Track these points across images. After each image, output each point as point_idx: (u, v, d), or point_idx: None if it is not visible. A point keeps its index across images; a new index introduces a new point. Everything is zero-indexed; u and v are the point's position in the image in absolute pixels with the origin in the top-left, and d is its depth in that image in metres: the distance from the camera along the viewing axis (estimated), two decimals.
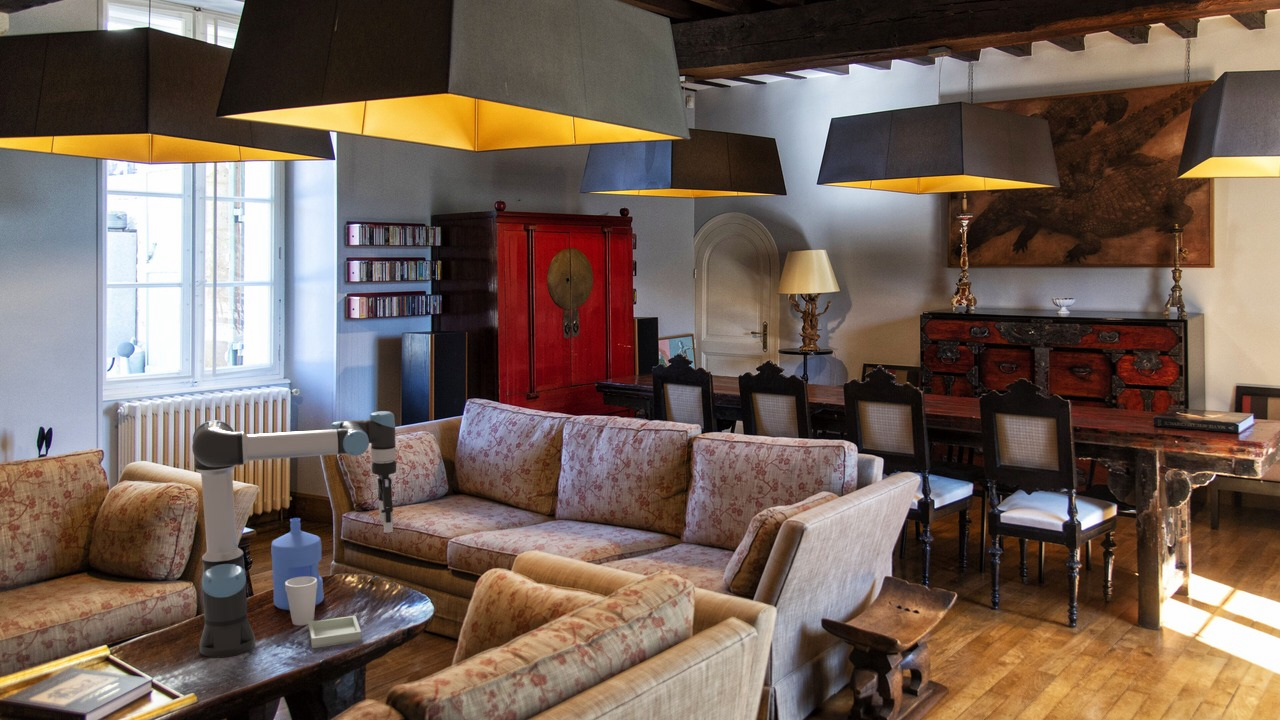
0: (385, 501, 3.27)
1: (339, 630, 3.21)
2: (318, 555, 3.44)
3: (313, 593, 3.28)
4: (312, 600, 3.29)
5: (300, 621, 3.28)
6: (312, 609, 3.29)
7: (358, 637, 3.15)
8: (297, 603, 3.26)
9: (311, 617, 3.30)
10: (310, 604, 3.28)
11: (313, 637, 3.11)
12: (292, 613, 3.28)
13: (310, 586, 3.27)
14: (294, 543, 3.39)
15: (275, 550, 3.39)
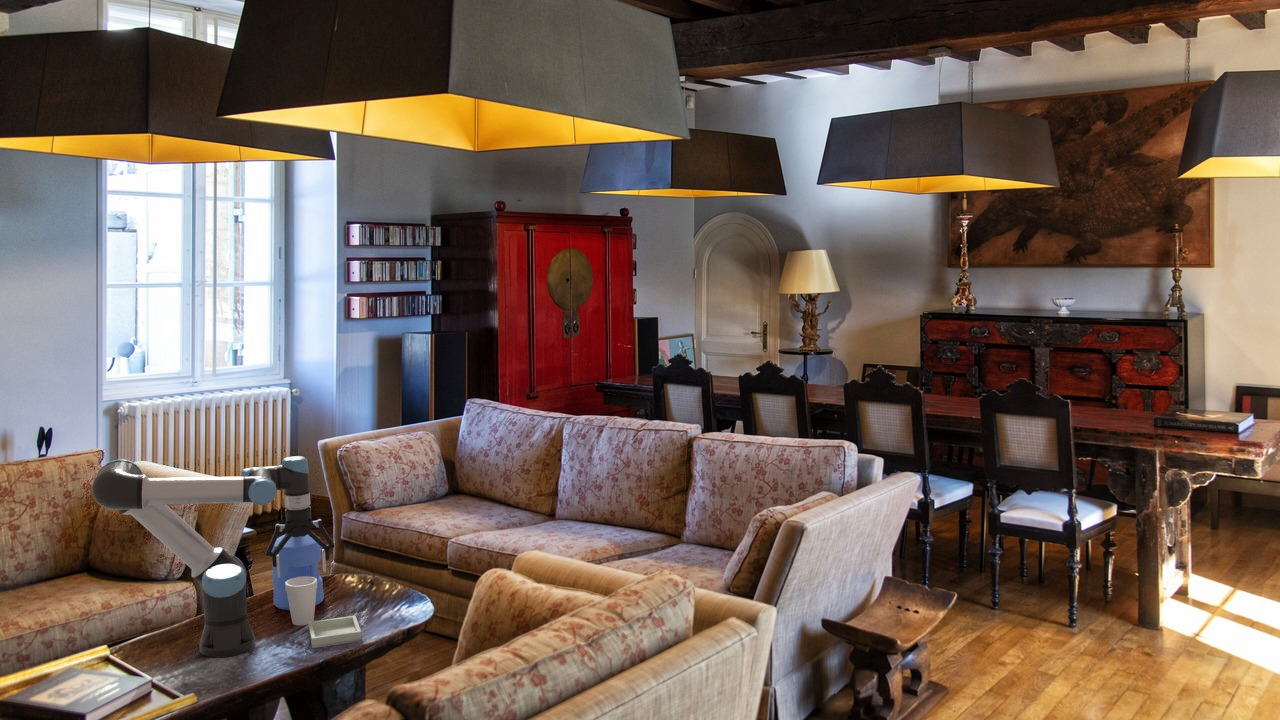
0: (269, 543, 3.25)
1: (339, 630, 3.21)
2: (318, 555, 3.44)
3: (313, 593, 3.28)
4: (312, 600, 3.29)
5: (300, 621, 3.28)
6: (312, 609, 3.29)
7: (358, 637, 3.15)
8: (297, 603, 3.26)
9: (311, 617, 3.30)
10: (310, 604, 3.28)
11: (313, 637, 3.11)
12: (292, 613, 3.28)
13: (310, 586, 3.27)
14: (294, 543, 3.39)
15: None
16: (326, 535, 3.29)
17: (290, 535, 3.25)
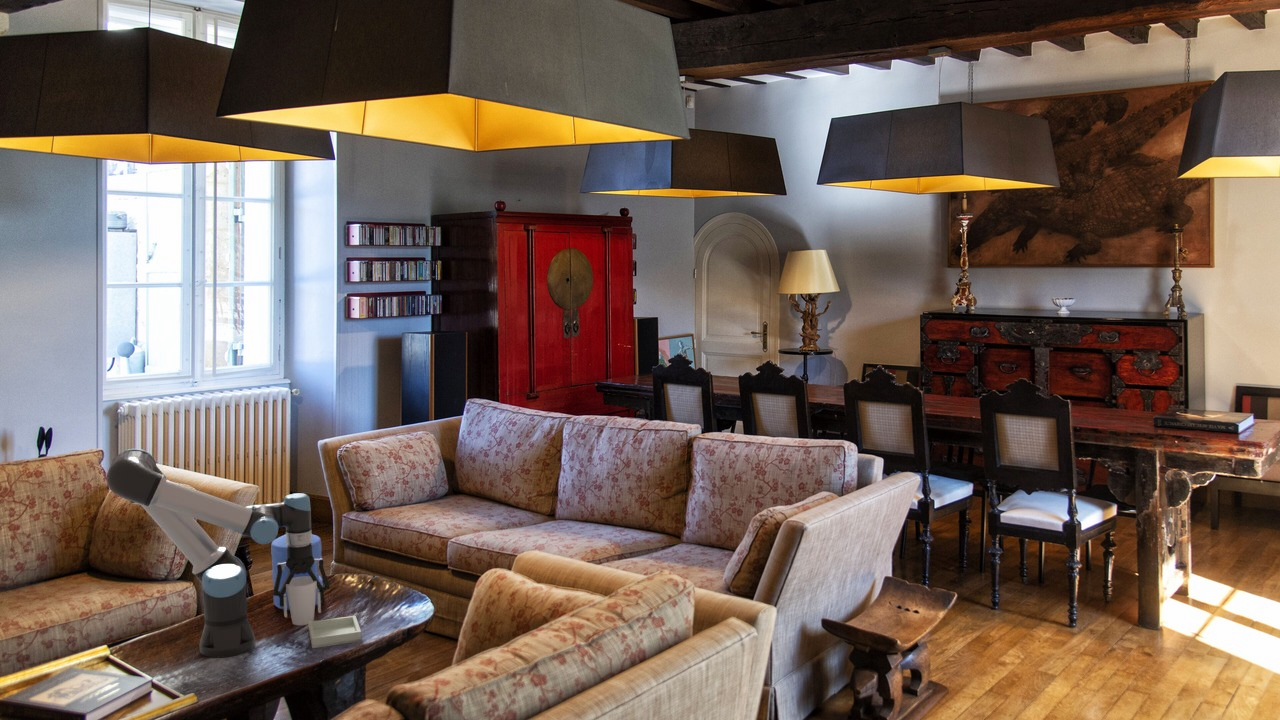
0: None
1: (339, 630, 3.21)
2: (318, 555, 3.44)
3: (313, 593, 3.28)
4: (312, 600, 3.29)
5: (300, 621, 3.28)
6: (312, 609, 3.29)
7: (358, 637, 3.15)
8: (297, 603, 3.26)
9: (311, 617, 3.30)
10: (310, 604, 3.28)
11: (313, 637, 3.11)
12: (292, 613, 3.28)
13: (310, 586, 3.27)
14: None
15: (275, 550, 3.39)
16: (324, 575, 3.31)
17: (293, 573, 3.26)
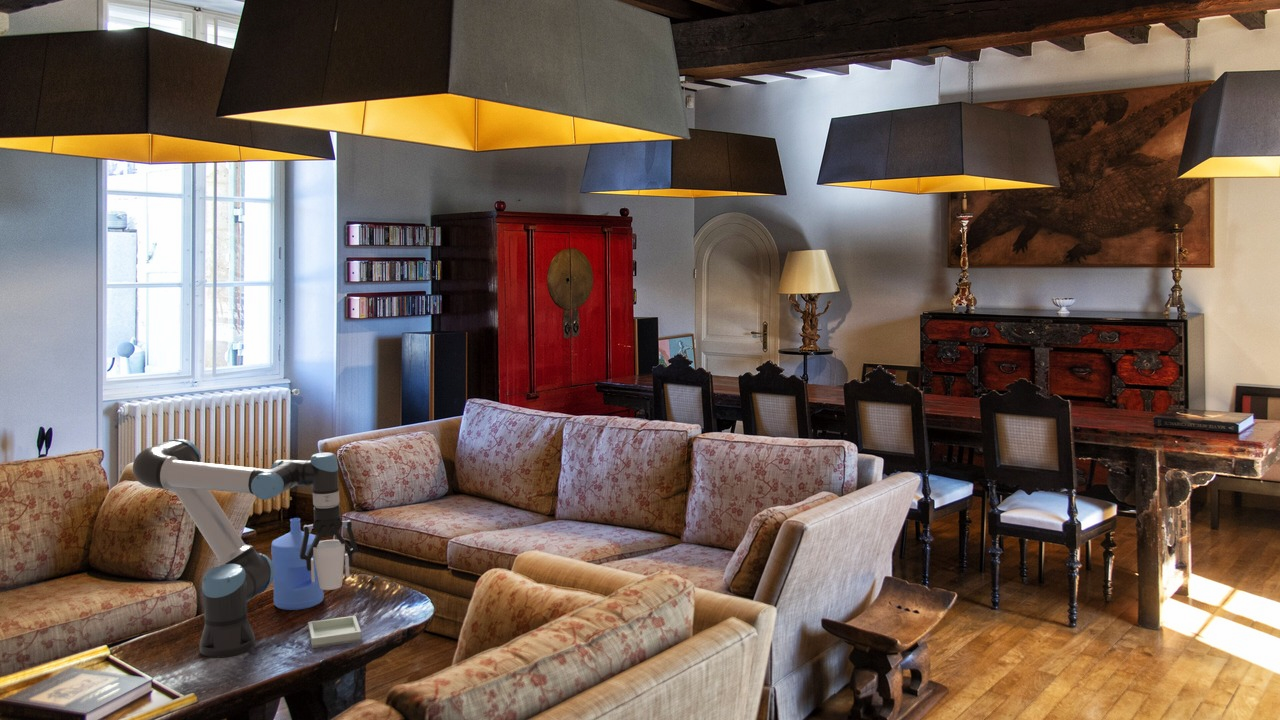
0: (301, 547, 3.14)
1: (339, 630, 3.21)
2: None
3: (341, 556, 3.16)
4: (340, 563, 3.16)
5: (328, 585, 3.15)
6: (340, 573, 3.17)
7: (358, 637, 3.15)
8: (325, 566, 3.13)
9: (339, 581, 3.17)
10: (338, 568, 3.15)
11: (313, 637, 3.11)
12: (320, 577, 3.15)
13: (338, 549, 3.14)
14: (294, 543, 3.39)
15: (275, 550, 3.39)
16: (352, 538, 3.18)
17: (320, 535, 3.14)
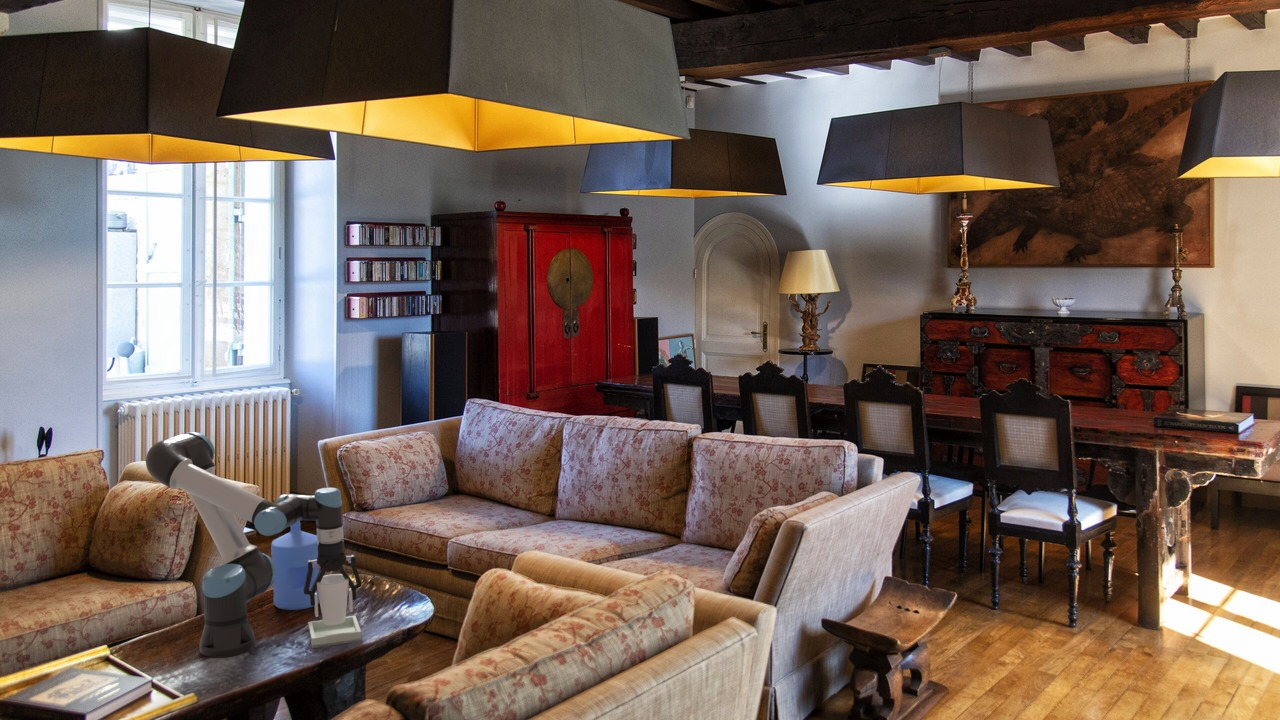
0: (305, 581, 3.15)
1: (339, 630, 3.21)
2: None
3: (345, 591, 3.16)
4: (344, 599, 3.16)
5: (332, 620, 3.15)
6: (344, 608, 3.17)
7: (358, 637, 3.15)
8: (329, 602, 3.13)
9: (343, 616, 3.17)
10: (342, 603, 3.16)
11: (313, 637, 3.11)
12: (323, 612, 3.15)
13: (342, 584, 3.14)
14: (294, 543, 3.39)
15: (275, 550, 3.39)
16: (356, 573, 3.18)
17: (324, 570, 3.14)
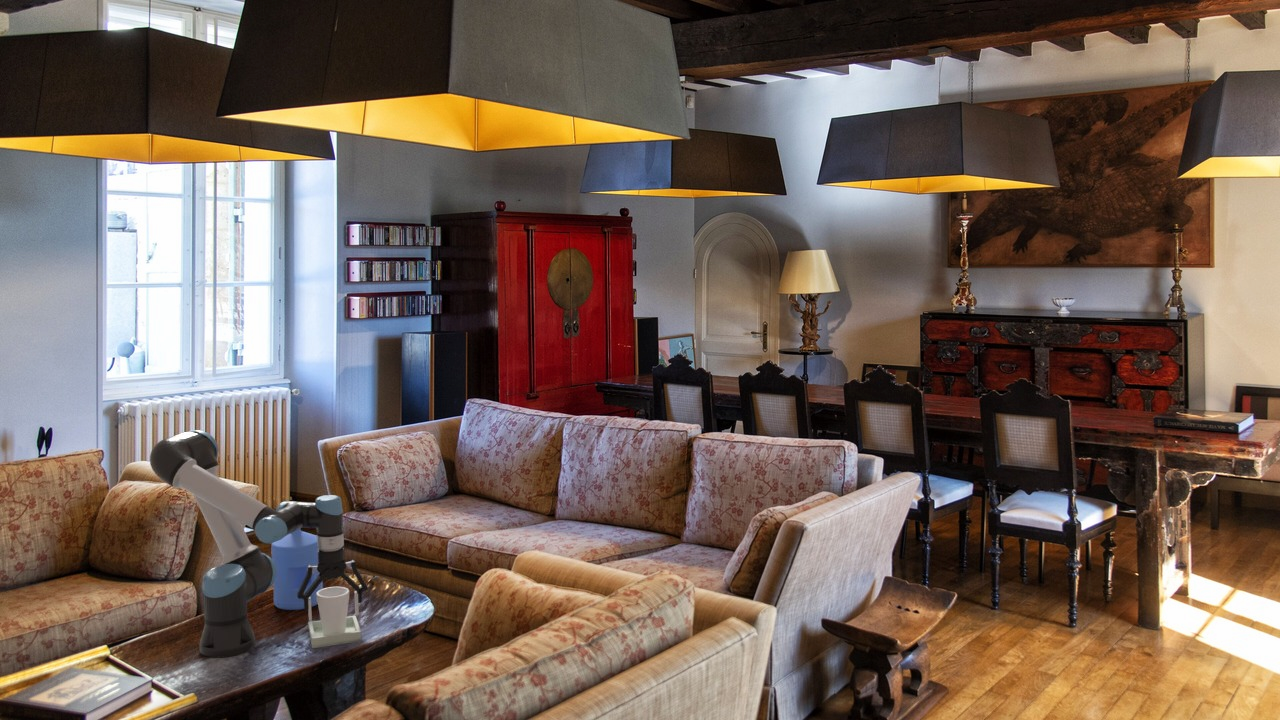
0: (301, 586, 3.14)
1: None
2: None
3: (345, 604, 3.16)
4: (344, 611, 3.17)
5: (332, 633, 3.16)
6: (344, 621, 3.17)
7: (358, 637, 3.15)
8: (329, 615, 3.14)
9: (343, 629, 3.18)
10: (342, 616, 3.16)
11: (313, 637, 3.11)
12: (323, 625, 3.16)
13: (342, 597, 3.15)
14: (294, 543, 3.39)
15: (275, 550, 3.39)
16: (359, 577, 3.19)
17: (323, 577, 3.14)
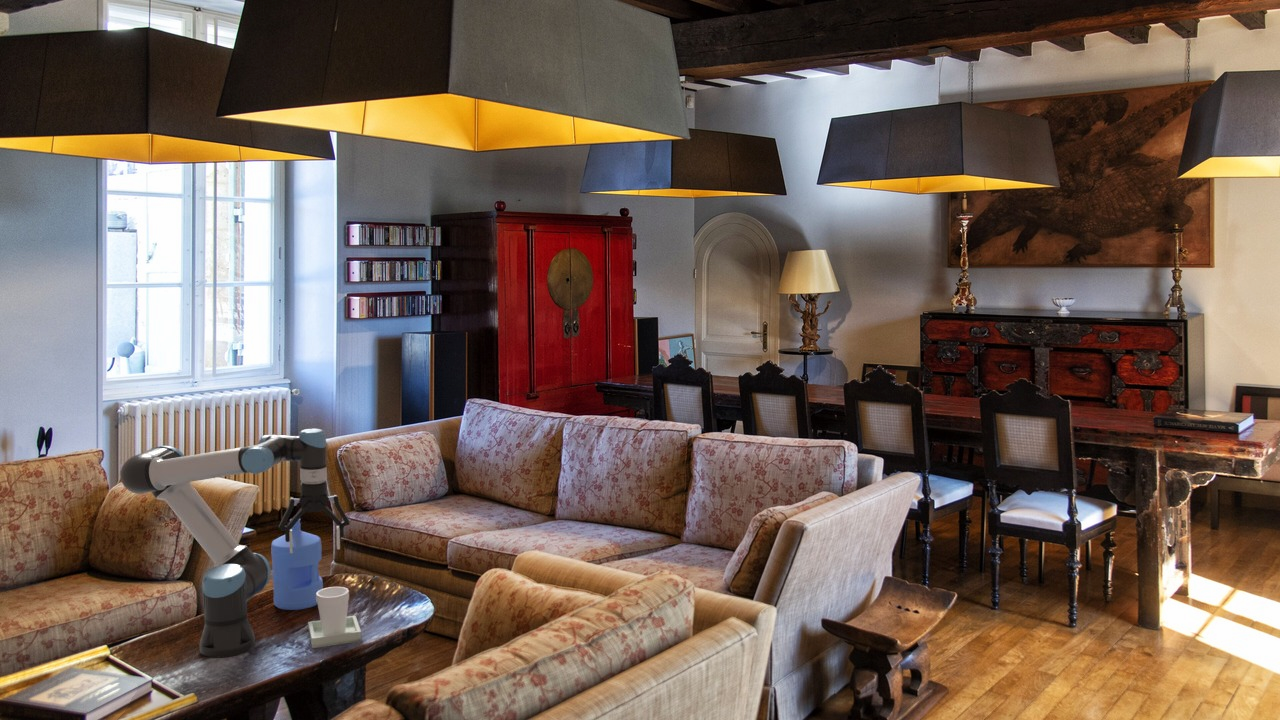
0: (282, 518, 3.15)
1: None
2: (318, 555, 3.44)
3: (345, 604, 3.16)
4: (344, 611, 3.17)
5: (331, 633, 3.16)
6: (344, 621, 3.17)
7: (358, 637, 3.15)
8: (329, 615, 3.14)
9: (343, 629, 3.18)
10: (342, 616, 3.16)
11: (313, 637, 3.11)
12: (323, 625, 3.16)
13: (342, 597, 3.15)
14: (294, 543, 3.39)
15: (275, 550, 3.39)
16: (341, 512, 3.19)
17: (304, 510, 3.15)
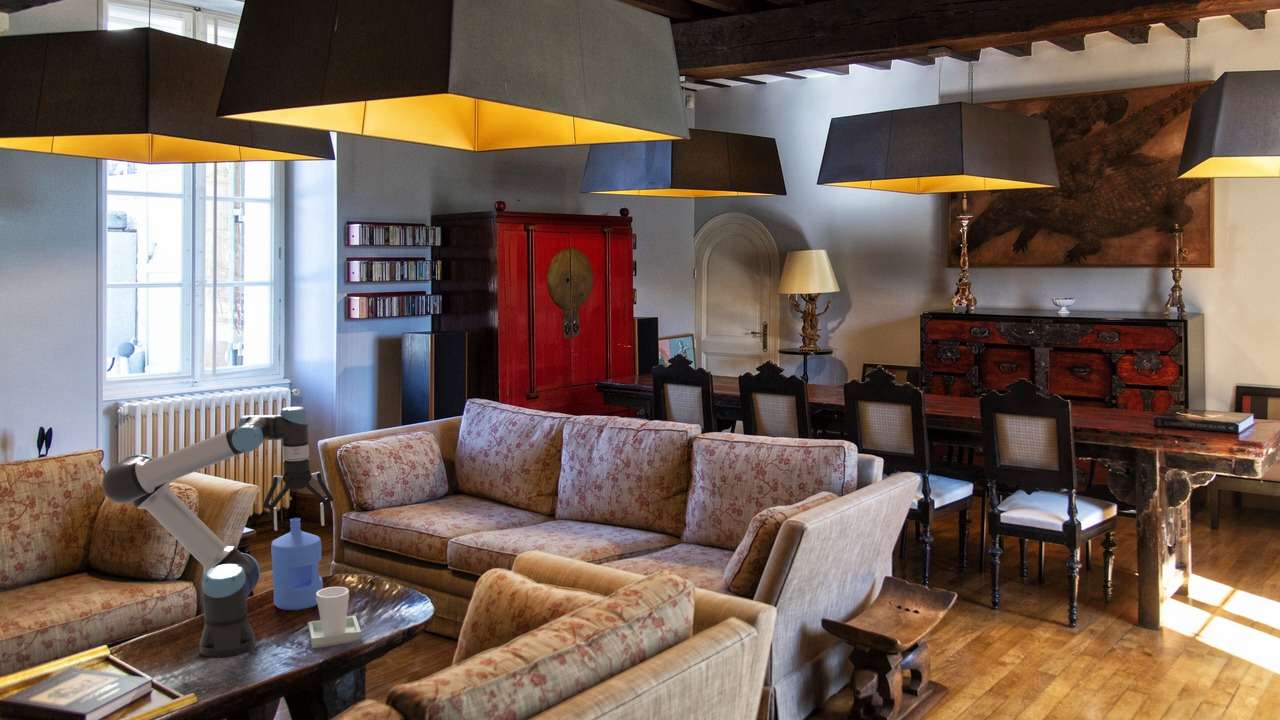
0: None
1: None
2: (318, 555, 3.44)
3: (345, 604, 3.16)
4: (344, 611, 3.17)
5: (331, 633, 3.16)
6: (344, 621, 3.17)
7: (358, 637, 3.15)
8: (329, 615, 3.14)
9: (343, 629, 3.18)
10: (342, 616, 3.16)
11: (313, 637, 3.11)
12: (323, 625, 3.16)
13: (342, 597, 3.15)
14: (294, 543, 3.39)
15: (275, 550, 3.39)
16: (325, 488, 3.22)
17: (288, 487, 3.18)
